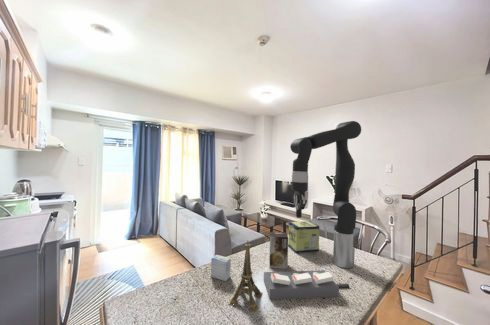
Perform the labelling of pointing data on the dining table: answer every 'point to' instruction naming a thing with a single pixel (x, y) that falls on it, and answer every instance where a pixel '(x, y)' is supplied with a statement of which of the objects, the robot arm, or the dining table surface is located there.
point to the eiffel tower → (247, 283)
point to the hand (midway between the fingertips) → (298, 217)
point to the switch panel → (300, 287)
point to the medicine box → (220, 267)
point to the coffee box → (278, 250)
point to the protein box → (303, 237)
